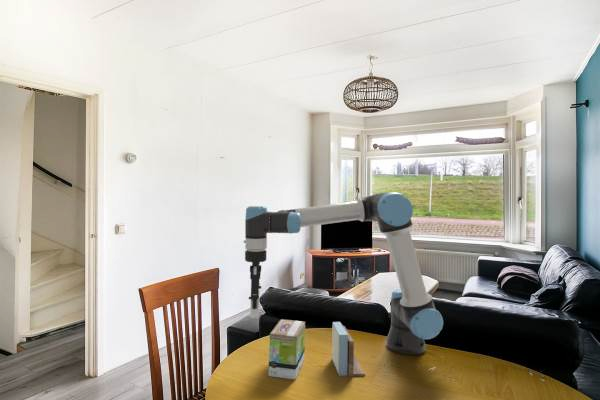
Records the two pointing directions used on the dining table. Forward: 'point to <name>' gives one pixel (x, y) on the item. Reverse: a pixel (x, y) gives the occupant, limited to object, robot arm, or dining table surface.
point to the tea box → (287, 349)
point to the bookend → (353, 359)
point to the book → (339, 348)
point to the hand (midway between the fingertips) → (255, 312)
